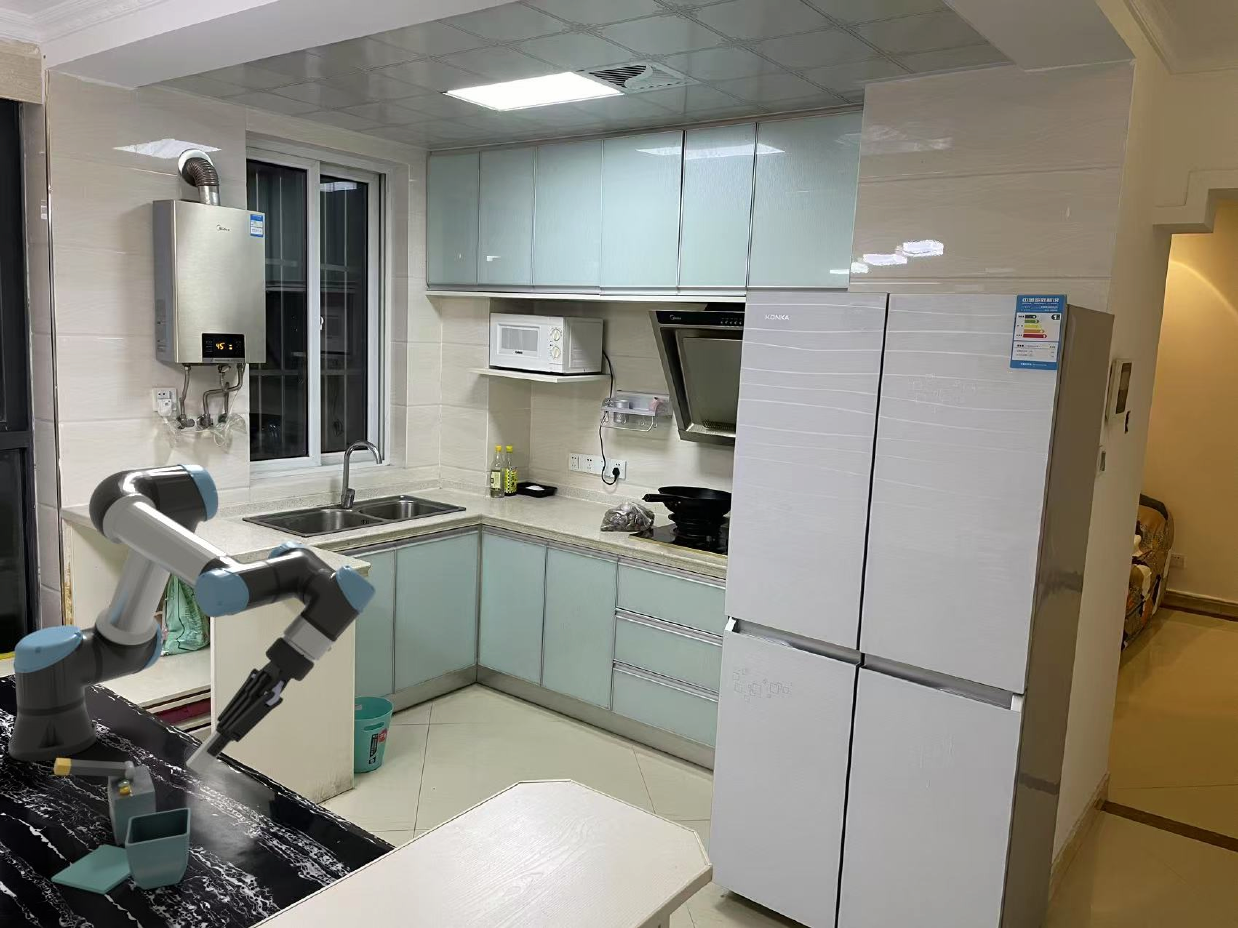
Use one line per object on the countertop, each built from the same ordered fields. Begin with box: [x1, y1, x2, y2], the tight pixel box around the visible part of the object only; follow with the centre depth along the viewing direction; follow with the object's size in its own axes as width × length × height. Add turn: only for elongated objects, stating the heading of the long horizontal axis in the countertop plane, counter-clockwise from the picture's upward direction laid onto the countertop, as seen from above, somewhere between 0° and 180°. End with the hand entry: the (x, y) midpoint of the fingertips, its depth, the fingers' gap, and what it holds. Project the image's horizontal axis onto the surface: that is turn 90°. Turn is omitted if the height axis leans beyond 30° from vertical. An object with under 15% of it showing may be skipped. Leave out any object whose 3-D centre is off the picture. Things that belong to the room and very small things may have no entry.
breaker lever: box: [53, 757, 136, 779], centre depth 156 cm, size 2×4×12 cm
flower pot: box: [124, 807, 192, 890], centre depth 143 cm, size 9×9×9 cm
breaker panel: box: [106, 764, 157, 846], centre depth 158 cm, size 6×11×9 cm, turn 34°
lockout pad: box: [50, 843, 132, 895], centre depth 145 cm, size 10×10×1 cm
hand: (193, 768), depth 146 cm, fingers closed
